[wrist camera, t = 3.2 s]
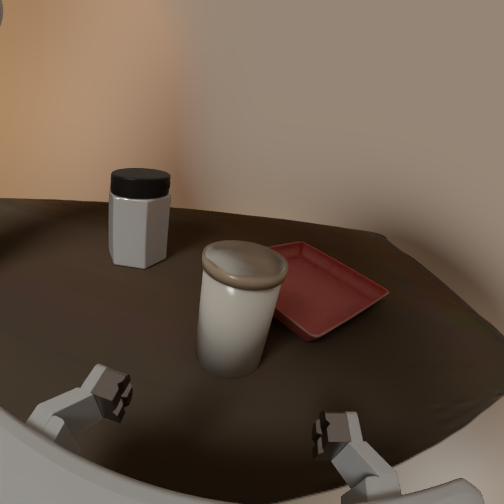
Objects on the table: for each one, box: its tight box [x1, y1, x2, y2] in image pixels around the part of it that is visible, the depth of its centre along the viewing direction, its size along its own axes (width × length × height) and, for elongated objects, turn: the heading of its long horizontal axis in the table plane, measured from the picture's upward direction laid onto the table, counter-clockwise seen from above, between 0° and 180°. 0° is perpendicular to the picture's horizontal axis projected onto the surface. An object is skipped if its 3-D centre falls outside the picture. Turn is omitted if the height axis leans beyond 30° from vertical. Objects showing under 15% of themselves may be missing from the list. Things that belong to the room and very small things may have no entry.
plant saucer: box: [268, 242, 389, 341], centre depth 37 cm, size 18×18×3 cm
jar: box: [109, 168, 171, 269], centre depth 36 cm, size 9×8×12 cm
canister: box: [196, 240, 288, 378], centre depth 23 cm, size 6×6×10 cm
